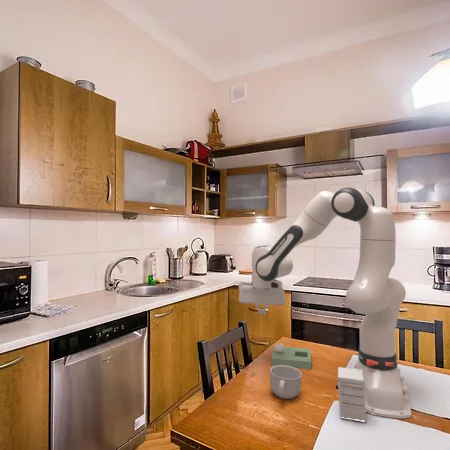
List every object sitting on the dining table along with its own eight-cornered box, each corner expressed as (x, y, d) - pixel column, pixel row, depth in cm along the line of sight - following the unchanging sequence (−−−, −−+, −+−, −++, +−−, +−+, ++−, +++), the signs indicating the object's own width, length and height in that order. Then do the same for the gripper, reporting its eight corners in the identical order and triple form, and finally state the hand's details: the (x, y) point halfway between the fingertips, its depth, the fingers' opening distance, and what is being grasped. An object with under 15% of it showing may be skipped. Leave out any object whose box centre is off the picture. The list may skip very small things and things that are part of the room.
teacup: (277, 383, 118) (276, 361, 118) (306, 391, 112) (306, 368, 112) (261, 401, 106) (261, 377, 106) (293, 411, 100) (292, 385, 100)
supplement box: (339, 405, 103) (337, 366, 103) (364, 409, 100) (363, 369, 100) (339, 419, 96) (337, 376, 96) (366, 423, 93) (364, 380, 93)
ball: (284, 354, 136) (284, 345, 136) (274, 353, 137) (274, 344, 137) (284, 350, 140) (284, 341, 140) (275, 350, 141) (275, 341, 141)
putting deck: (311, 369, 129) (311, 361, 129) (271, 365, 133) (271, 358, 133) (310, 355, 142) (310, 348, 142) (274, 352, 146) (274, 345, 146)
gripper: (237, 282, 140) (237, 314, 140) (284, 284, 135) (284, 317, 135) (240, 280, 147) (240, 310, 147) (285, 282, 141) (285, 313, 141)
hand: (261, 313), depth 141 cm, fingers closed
